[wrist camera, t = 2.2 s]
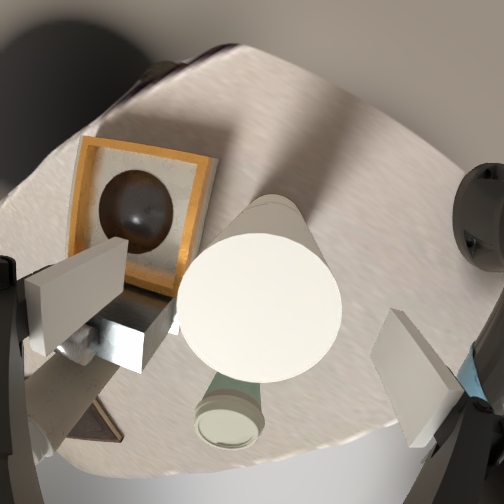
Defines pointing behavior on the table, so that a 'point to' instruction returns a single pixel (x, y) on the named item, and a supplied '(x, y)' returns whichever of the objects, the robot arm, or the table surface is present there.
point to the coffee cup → (229, 414)
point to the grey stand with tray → (136, 240)
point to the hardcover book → (95, 426)
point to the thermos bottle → (61, 399)
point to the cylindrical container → (260, 296)
